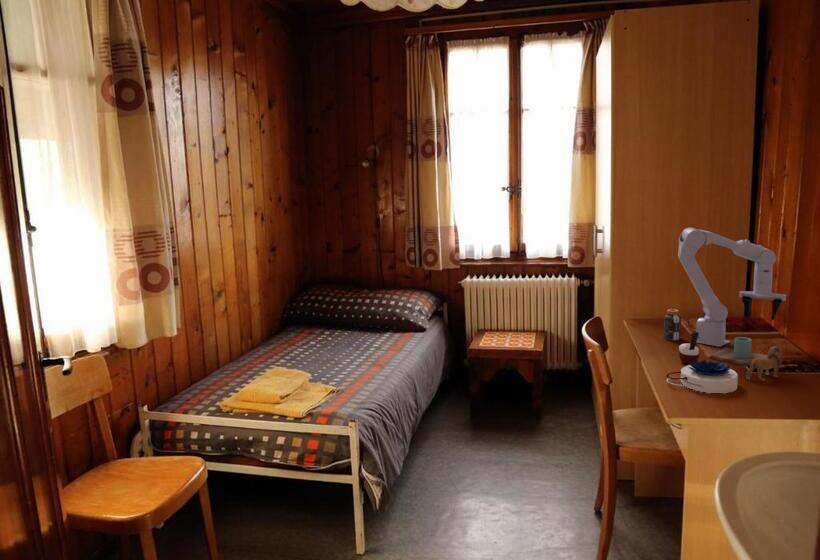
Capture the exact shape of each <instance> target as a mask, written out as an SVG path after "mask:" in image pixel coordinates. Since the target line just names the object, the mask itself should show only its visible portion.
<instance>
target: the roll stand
mask: <svg viewBox="0 0 820 560" xmlns="http://www.w3.org/2000/svg"><path fill="white" fill-rule="evenodd" d="M767 356H768V354H761V353H756V352H753V351H751V357H750V358H737V357H735V356H734V348H731V347H725V348H722V349H721V350H718V351H717V352H714V353H713V354H711V355H710V356H709V357H710V359H712V360H715V361H716V360H717V361H720V362H722V361H723V362H726V363H731V364H737V365H740V366H745V367H746V366H747V367H750V365H751V361H752V360H753V359H755V358H766V357H767Z"/></svg>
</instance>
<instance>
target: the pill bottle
mask: <svg viewBox="0 0 820 560" xmlns="http://www.w3.org/2000/svg"><path fill="white" fill-rule="evenodd" d="M666 313H667V314H665V315H664V323H663V324H664V325H663V327H664V328H663V338H664V339H665V340H668V341H678V340H681V338H682V337H681V336H682V332H681V331H682V317H681V315H679V310H678V309H676V308H669V309H667V311H666Z"/></svg>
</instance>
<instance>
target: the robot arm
mask: <svg viewBox="0 0 820 560" xmlns="http://www.w3.org/2000/svg"><path fill="white" fill-rule="evenodd" d="M710 244H715V245H717V246H720V247H724V248H727V249H730V250H732V252H733V254H734V255H736V256H738V257H741V258H744V259H745V260H749V261H752V262H753V261H754V271H753V273H754V274H753V291H746V290H745V291H742V290H741V291H739V298H741V302H742V303H743V305H744V308H745V310H746V315H747V318H751V317H752V304H753V303H752V302H753V299H762V300H772V301H771V307H772V308H771V311H772V312H771V321H775V319H776V316H777V313H778V310H779V308H780V307H781V304H782V303H783V302H786V300H787V294H781V293H775V292H773V291H772V290H773V289H772V288H773V275H774V274H773V273H774V272H773V271H774V270H773V269H774V264H775V263H776V262H777V259H778V258H777V257H778V256H776V253H775V252H774V251H773V250H772V249H768V248H766V247H764V246H763V245H762V244H755V243H753V242H751V240H748V239H740V240H737V241H735V240H732V239H730V238H727V237H724V236H722V235H719V234H718V233H717V234H716V233H715V232H711V231H708V230H704V229H700V228H698V229H696V227H690V226H689V227H686V228H684V229H683V230H682V232H681V233H680V235H679V237H678V253H677V257H678V258H677V259H678V260H679V262H680V263H681V266H682V267H683V269H684V271H685V273H686V275H687V276H688V278H689V280H690V281H691V283H692V285H693V287H694V289H695V291H696V292H697V294H698V296H699V298H700V301H701V303H702V310H703V313H704V314H705V315H704V317H699V318H698V319H697V321H696V323H695V332H698V333H699V334H698V338H697V342H696V344H703V345H709V346H714V347H719V348H721V347H722V346H724V345H727V344H729V343H730V340H726V328H727V327H726V321H727V319H726V318H727V317H728V316H729V311H728V308H727V307H726V306H725V305H724V304H722V302H721V301H720V300H719V298H718V297H717V296H716V294H715V293H714V290H713V289H712V287H711V285H710V283H709V281H708V280H707V277H706V276H705V275H704V272H703V271H702V269H701V267H700V265H699V264H698V262H697V260H696V254H697V252H698V250H699V249H700V248H701V247H702V246H703V245H706V246H707V245H710Z"/></svg>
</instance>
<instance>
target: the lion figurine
mask: <svg viewBox="0 0 820 560" xmlns="http://www.w3.org/2000/svg"><path fill="white" fill-rule="evenodd" d="M767 355H768V356H767V357H766V358H755V359H753V360H752V361H751V365H750V366H749V369H748V371H747V372H746V376H745V377H746V378H745V379H747V380H748V381H749V382H750V381H752V372H753V371H754V370H755V369H756V371H757V377H758V379H759V380H760V381H761V382H762V381H763V382H765V381H766V378H764V377H762V376H763V372H764V370H765V373H764V375H765V376H770V370H771V369H773V377H775V378H779V374H778V371H779V366H781V365H782V362H783V350H782V349H781V348H780V347H779V346H776V345H775V346H772V347H769V348H768V351H767Z"/></svg>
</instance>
